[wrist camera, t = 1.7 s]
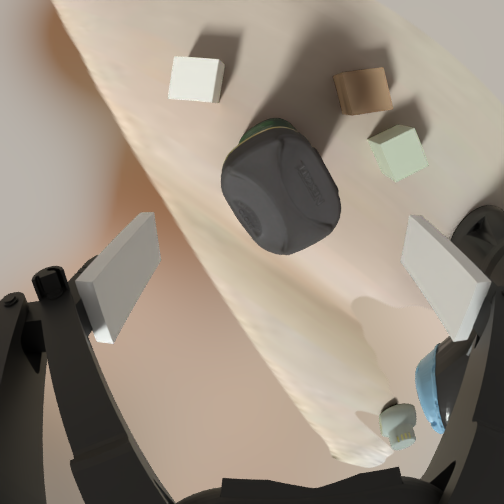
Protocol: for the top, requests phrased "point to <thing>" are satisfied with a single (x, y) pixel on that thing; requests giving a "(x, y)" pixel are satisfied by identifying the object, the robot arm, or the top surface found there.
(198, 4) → the top surface
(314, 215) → the coffee jar
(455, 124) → the top surface
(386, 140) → the sage block
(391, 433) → the air freshener
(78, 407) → the robot arm
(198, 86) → the off-white block
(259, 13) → the top surface
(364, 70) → the walnut block
